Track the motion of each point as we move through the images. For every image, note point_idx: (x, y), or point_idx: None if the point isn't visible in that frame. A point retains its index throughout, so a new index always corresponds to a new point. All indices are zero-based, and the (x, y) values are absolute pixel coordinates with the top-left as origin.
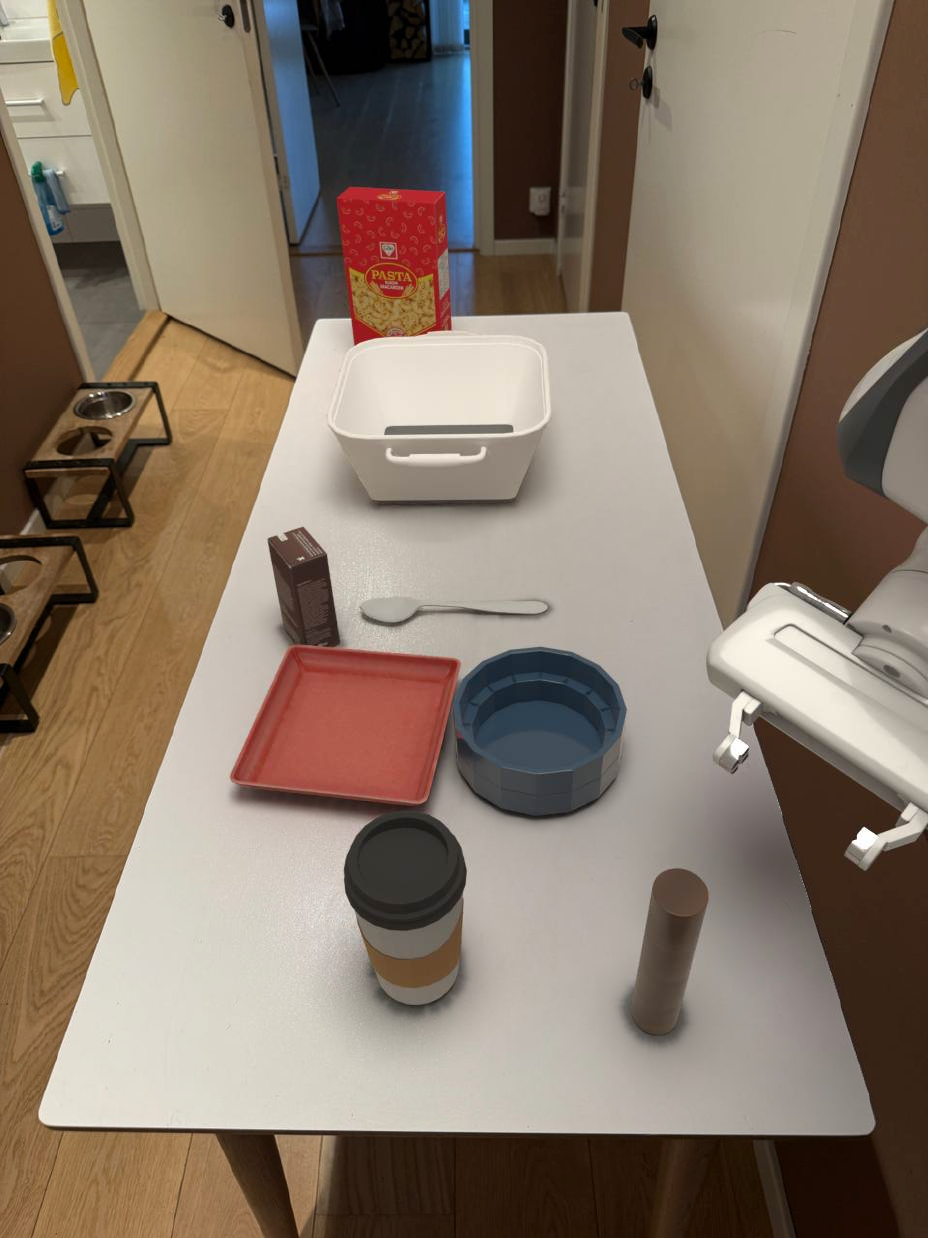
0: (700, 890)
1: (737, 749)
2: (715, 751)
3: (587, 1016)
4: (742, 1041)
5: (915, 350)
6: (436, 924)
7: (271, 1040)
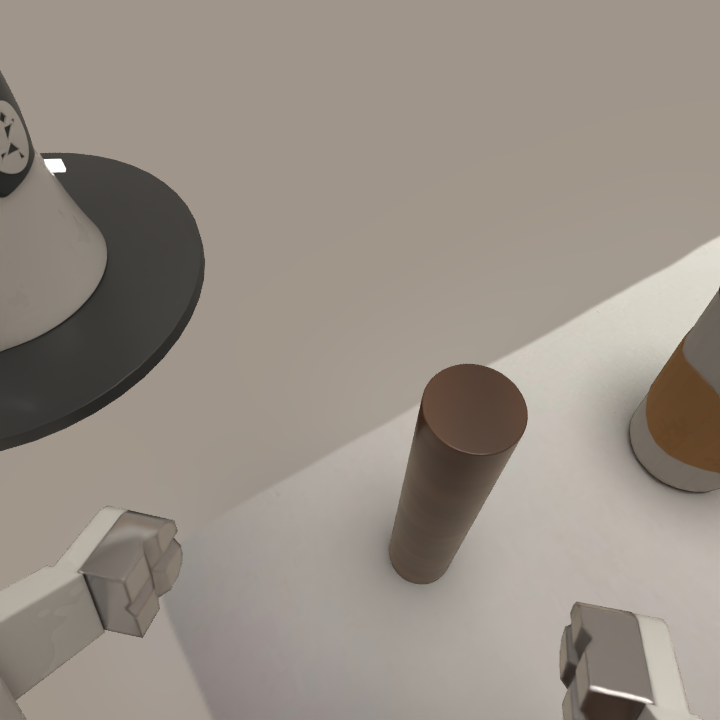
0: (445, 425)
1: (613, 656)
2: (663, 622)
3: None
4: (307, 579)
5: None
6: (715, 302)
7: None
